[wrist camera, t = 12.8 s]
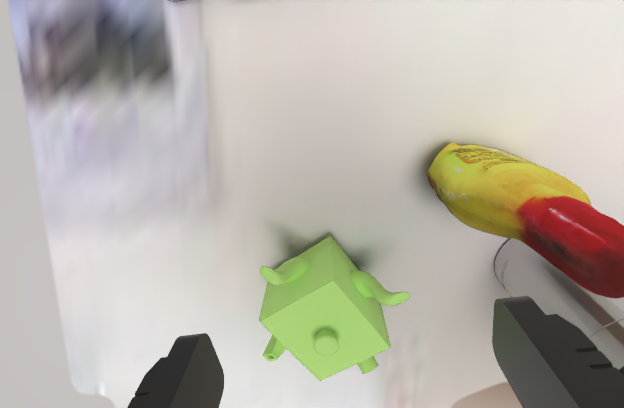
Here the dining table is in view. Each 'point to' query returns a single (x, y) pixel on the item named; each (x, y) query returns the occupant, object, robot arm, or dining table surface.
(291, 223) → the dining table surface
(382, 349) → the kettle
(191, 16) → the dining table surface
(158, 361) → the robot arm
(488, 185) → the bottle
